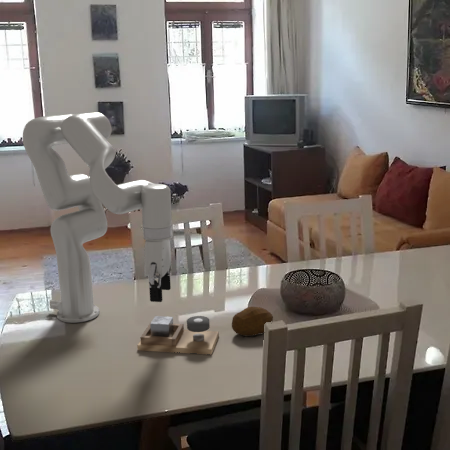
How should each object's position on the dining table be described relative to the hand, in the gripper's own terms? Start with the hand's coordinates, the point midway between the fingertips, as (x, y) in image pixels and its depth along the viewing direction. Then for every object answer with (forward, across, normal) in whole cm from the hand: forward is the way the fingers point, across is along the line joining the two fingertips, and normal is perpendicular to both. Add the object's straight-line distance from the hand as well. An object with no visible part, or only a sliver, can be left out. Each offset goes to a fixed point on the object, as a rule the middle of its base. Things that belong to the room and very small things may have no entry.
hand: (160, 294), depth 164 cm
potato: (+14, -9, +24) cm, 29 cm away
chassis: (+14, 0, +5) cm, 14 cm away
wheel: (+9, 0, +10) cm, 13 cm away
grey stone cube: (+12, 0, 0) cm, 12 cm away
